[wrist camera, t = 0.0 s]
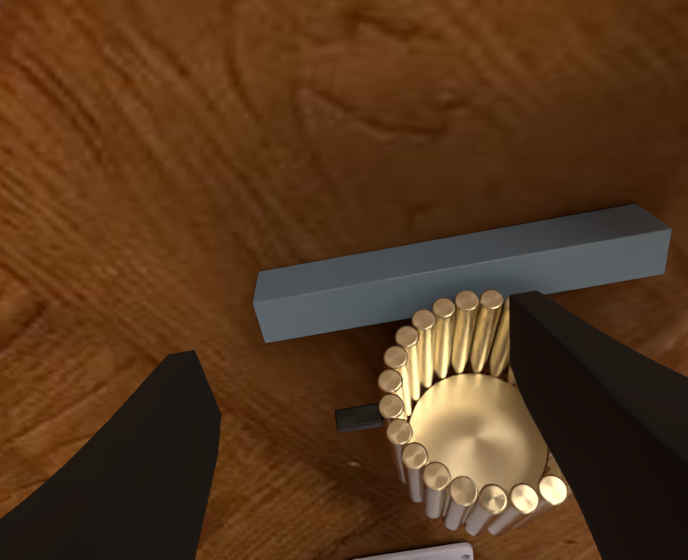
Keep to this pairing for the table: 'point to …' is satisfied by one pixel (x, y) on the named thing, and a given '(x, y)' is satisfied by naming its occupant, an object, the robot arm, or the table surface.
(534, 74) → the table surface
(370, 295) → the rectangular block
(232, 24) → the table surface
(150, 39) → the table surface
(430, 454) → the pot
